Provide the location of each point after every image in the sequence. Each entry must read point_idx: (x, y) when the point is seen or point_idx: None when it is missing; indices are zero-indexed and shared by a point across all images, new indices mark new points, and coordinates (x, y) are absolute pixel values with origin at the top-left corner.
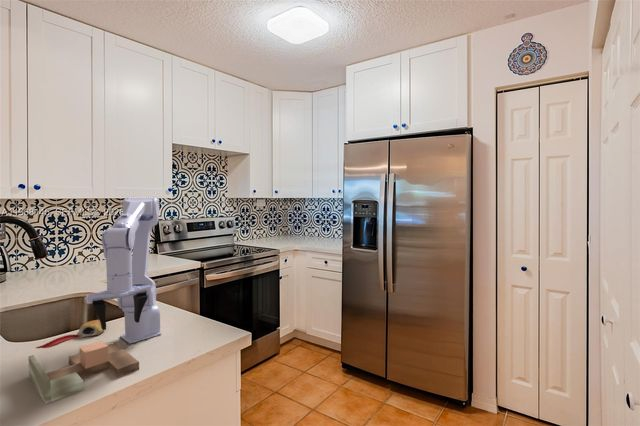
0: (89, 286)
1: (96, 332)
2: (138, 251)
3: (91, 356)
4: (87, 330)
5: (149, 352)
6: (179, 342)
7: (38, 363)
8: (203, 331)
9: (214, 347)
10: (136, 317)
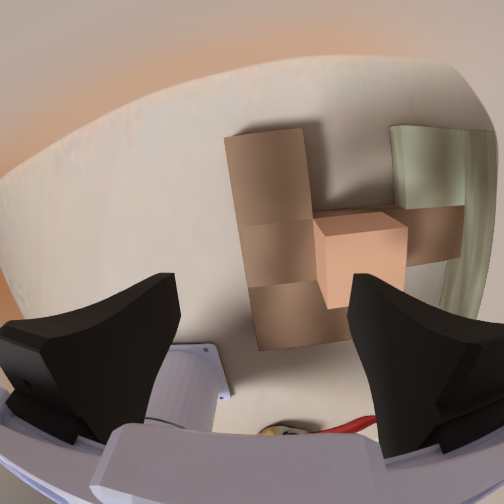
0: None
1: (278, 430)
2: None
3: (379, 223)
4: None
5: (172, 248)
6: (88, 258)
7: (482, 269)
8: (38, 283)
9: (30, 161)
10: (162, 292)
